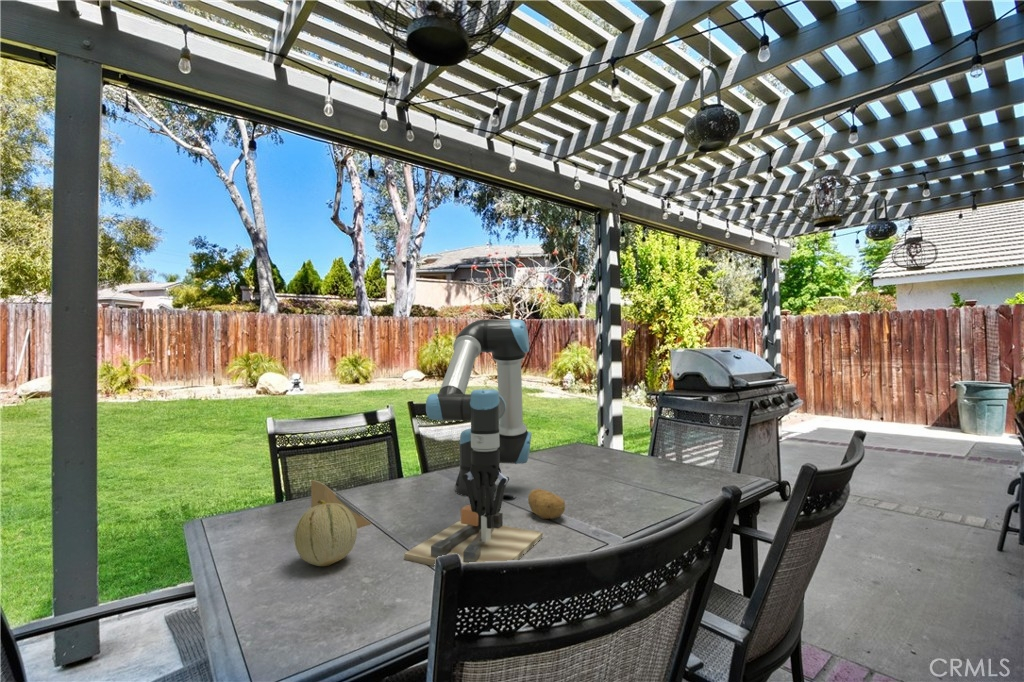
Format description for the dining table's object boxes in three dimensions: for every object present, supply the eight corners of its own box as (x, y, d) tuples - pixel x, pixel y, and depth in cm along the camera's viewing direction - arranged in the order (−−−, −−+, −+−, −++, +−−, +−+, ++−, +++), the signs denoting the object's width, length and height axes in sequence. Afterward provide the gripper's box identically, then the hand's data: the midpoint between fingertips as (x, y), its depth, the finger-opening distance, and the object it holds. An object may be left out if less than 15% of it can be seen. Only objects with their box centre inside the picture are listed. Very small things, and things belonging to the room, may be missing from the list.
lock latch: (468, 518, 141) (468, 504, 141) (483, 521, 138) (483, 507, 139) (460, 523, 137) (460, 508, 137) (476, 526, 135) (476, 511, 135)
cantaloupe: (329, 581, 112) (330, 514, 112) (279, 571, 117) (280, 507, 117) (369, 555, 125) (370, 496, 126) (323, 547, 131) (324, 490, 131)
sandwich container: (373, 524, 148) (373, 474, 149) (324, 538, 137) (324, 484, 138) (359, 517, 154) (359, 469, 155) (310, 530, 143) (311, 479, 143)
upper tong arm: (486, 526, 141) (486, 516, 141) (499, 528, 140) (499, 517, 140) (459, 561, 118) (459, 548, 118) (475, 562, 117) (475, 550, 118)
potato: (549, 527, 145) (549, 500, 145) (521, 514, 157) (521, 489, 157) (573, 521, 151) (573, 494, 151) (544, 508, 162) (544, 484, 162)
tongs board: (462, 523, 148) (462, 506, 148) (542, 537, 137) (542, 519, 137) (404, 559, 123) (404, 538, 123) (496, 580, 112) (496, 557, 112)
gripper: (456, 449, 128) (457, 541, 127) (500, 453, 122) (501, 549, 121) (470, 444, 135) (471, 532, 134) (513, 447, 129) (514, 538, 128)
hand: (486, 540), depth 128 cm, fingers closed
